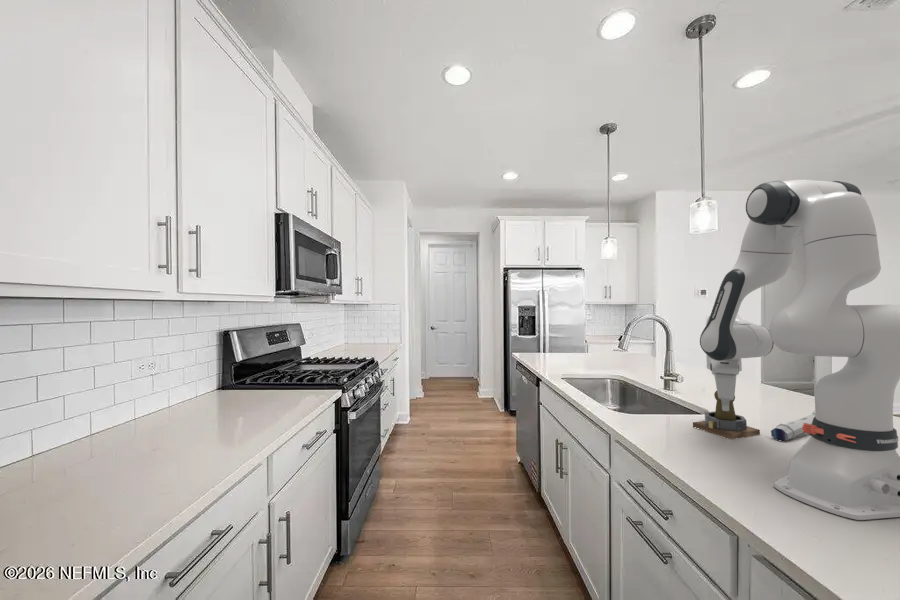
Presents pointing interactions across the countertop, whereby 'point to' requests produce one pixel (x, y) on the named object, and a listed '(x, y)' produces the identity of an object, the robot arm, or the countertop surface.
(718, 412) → the cork
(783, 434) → the grey and blue bar
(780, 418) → the countertop surface
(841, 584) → the countertop surface
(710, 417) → the collar
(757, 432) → the base plate
